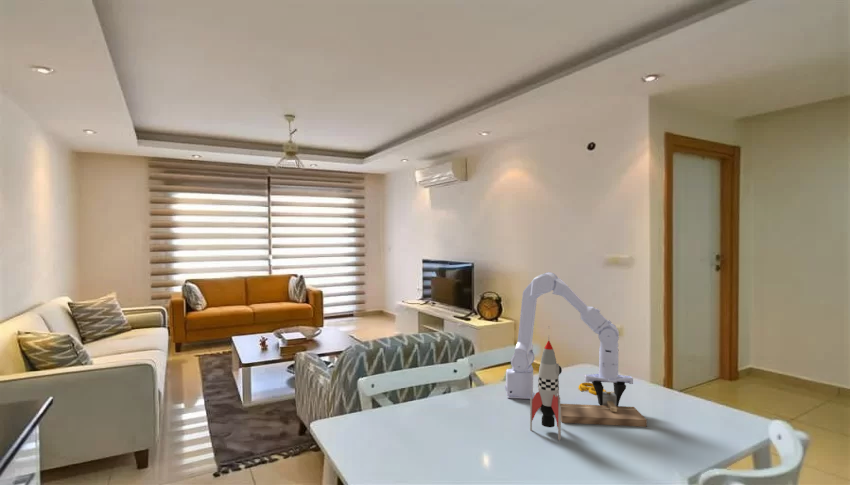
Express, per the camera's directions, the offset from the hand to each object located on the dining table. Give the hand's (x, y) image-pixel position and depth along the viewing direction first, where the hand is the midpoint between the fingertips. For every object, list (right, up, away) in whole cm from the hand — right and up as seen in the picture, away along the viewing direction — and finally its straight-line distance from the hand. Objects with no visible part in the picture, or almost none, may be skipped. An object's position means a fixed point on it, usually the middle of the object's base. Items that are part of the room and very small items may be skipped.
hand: (608, 404), depth 141 cm
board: (-6, -1, -7) cm, 9 cm away
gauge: (-1, -1, -3) cm, 4 cm away
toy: (-25, -2, -17) cm, 30 cm away
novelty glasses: (+3, -2, +15) cm, 16 cm away
